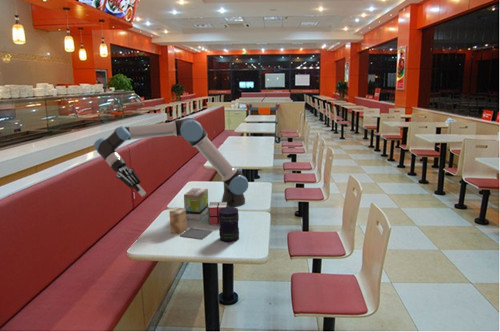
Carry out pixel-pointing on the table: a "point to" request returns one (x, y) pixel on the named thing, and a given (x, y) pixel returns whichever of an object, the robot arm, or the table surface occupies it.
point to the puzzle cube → (215, 212)
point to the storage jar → (229, 224)
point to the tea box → (196, 203)
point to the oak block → (178, 220)
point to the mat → (196, 233)
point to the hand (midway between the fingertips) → (144, 194)
